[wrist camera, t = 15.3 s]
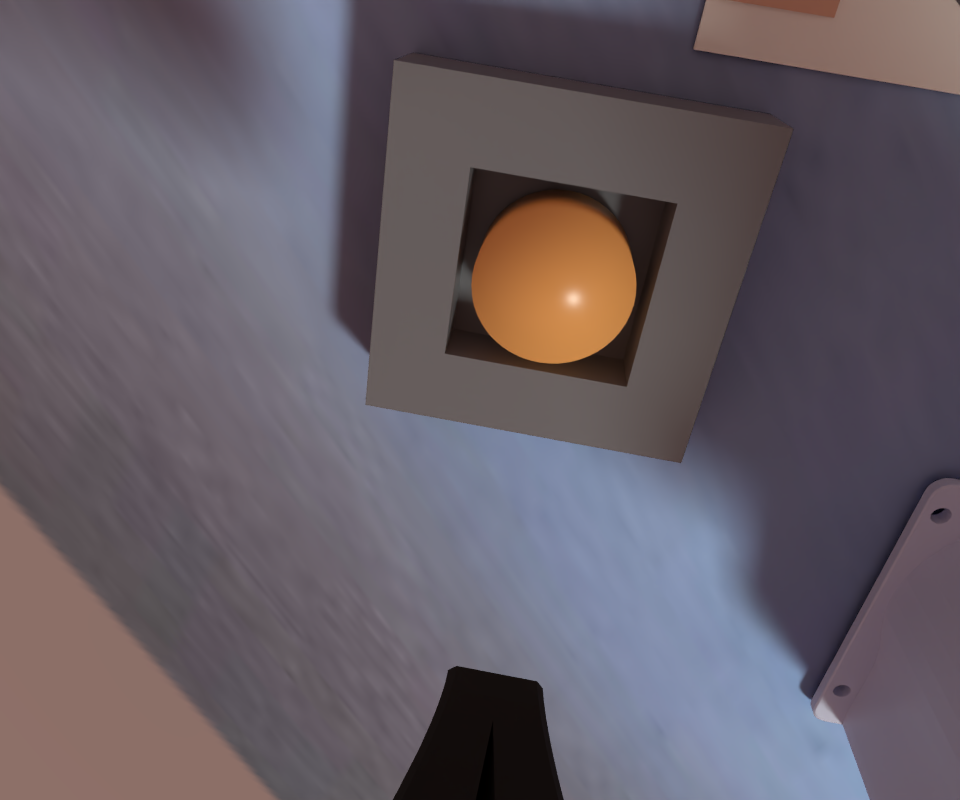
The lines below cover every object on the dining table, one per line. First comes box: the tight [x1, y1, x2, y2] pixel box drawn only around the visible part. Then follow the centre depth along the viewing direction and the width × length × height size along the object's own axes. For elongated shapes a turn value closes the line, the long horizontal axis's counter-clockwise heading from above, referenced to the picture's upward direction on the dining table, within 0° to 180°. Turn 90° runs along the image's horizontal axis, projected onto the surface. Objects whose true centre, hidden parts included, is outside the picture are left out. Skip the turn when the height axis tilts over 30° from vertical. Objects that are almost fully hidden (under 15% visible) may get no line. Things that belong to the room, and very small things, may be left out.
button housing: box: [366, 53, 793, 463], centre depth 18 cm, size 8×8×2 cm
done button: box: [471, 190, 636, 364], centre depth 17 cm, size 4×4×2 cm
